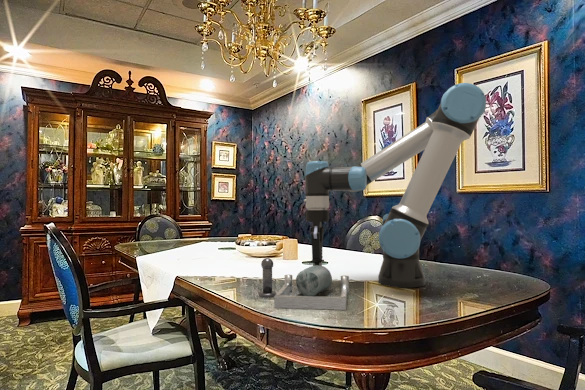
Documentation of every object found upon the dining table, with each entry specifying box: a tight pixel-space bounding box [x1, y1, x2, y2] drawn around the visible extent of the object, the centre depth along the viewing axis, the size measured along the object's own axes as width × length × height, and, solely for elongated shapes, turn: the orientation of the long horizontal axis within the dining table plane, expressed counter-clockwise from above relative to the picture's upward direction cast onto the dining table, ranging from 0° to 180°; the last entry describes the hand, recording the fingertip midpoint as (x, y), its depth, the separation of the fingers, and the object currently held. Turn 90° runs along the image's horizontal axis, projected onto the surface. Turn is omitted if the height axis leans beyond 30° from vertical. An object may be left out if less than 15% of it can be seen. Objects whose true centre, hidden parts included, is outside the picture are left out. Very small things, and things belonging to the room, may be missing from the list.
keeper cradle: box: [273, 274, 350, 311], centre depth 112 cm, size 20×20×5 cm
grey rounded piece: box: [295, 265, 333, 296], centre depth 119 cm, size 14×10×10 cm
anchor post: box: [258, 257, 277, 298], centre depth 117 cm, size 5×5×11 cm
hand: (317, 282), depth 127 cm, fingers closed
